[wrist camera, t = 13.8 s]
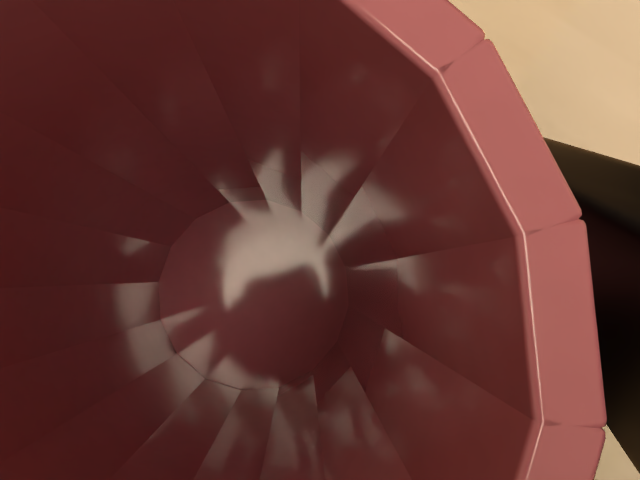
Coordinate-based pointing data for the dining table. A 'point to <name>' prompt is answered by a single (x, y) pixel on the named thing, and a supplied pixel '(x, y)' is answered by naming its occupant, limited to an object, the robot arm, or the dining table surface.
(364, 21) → the cup
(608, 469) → the dining table surface
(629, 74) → the dining table surface
